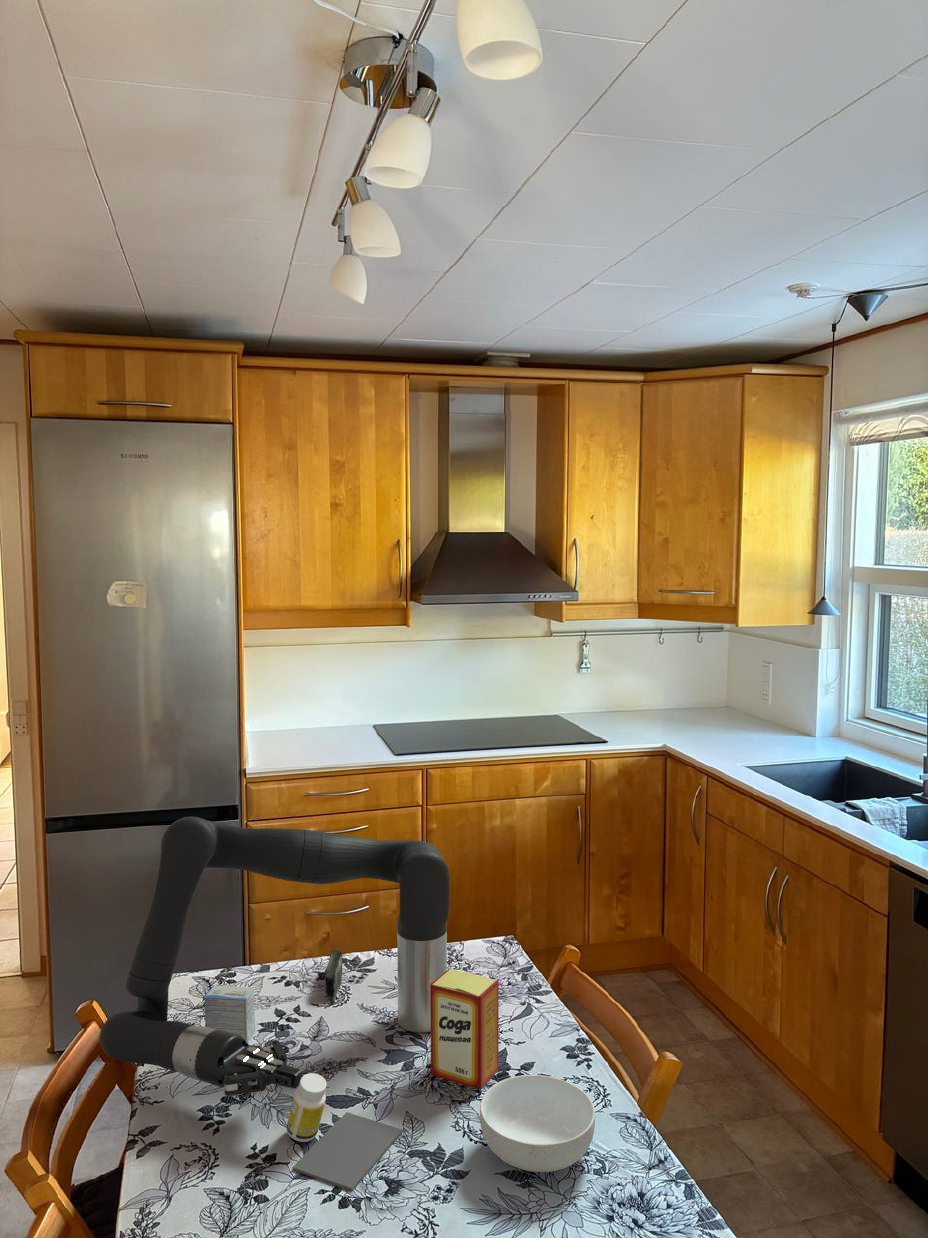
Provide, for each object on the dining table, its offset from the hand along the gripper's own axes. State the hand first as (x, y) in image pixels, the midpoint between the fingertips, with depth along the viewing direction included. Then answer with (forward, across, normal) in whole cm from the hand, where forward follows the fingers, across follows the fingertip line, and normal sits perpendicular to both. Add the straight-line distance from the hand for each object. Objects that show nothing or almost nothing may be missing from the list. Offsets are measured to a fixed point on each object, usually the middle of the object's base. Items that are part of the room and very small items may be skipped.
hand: (299, 1079), depth 133 cm
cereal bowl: (+34, +12, +10) cm, 37 cm away
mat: (+8, 0, +9) cm, 12 cm away
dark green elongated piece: (-22, +42, +8) cm, 48 cm away
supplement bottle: (0, 0, +8) cm, 8 cm away
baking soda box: (+15, +25, +9) cm, 31 cm away
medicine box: (-28, +17, +8) cm, 34 cm away
